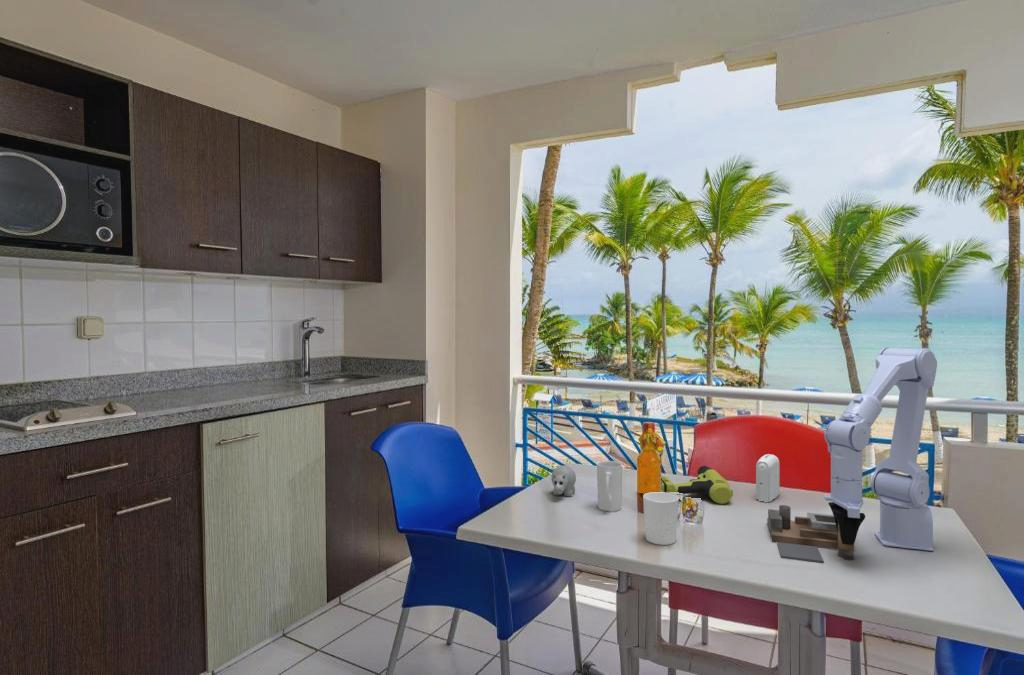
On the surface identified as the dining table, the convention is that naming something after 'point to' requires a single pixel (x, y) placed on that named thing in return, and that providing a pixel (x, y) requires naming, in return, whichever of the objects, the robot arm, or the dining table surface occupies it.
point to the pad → (799, 552)
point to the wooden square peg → (845, 549)
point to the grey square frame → (821, 522)
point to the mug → (609, 485)
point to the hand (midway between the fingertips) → (846, 540)
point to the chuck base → (797, 530)
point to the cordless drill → (702, 485)
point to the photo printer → (767, 478)
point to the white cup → (660, 517)
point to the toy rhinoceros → (563, 481)
